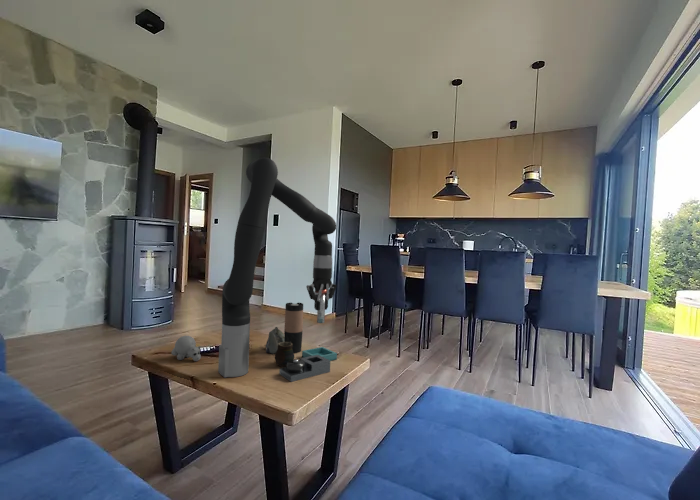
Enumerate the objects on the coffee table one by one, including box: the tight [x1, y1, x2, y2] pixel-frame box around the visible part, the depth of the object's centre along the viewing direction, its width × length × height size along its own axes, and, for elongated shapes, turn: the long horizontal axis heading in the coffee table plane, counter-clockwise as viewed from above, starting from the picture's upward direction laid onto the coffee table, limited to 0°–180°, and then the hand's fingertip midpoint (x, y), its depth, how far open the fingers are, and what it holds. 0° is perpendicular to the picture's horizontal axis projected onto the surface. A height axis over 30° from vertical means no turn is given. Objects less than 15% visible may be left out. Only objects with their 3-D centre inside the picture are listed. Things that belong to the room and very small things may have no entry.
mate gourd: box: [274, 341, 295, 368], centre depth 126 cm, size 7×8×10 cm
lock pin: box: [316, 290, 327, 324], centre depth 135 cm, size 4×4×13 cm
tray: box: [301, 346, 338, 362], centre depth 135 cm, size 10×10×2 cm
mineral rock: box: [265, 326, 284, 355], centre depth 145 cm, size 13×11×10 cm
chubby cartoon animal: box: [170, 335, 202, 362], centre depth 128 cm, size 7×12×8 cm, turn 65°
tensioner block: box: [278, 355, 331, 383], centre depth 119 cm, size 16×8×5 cm, turn 130°
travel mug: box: [283, 302, 304, 354], centre depth 143 cm, size 8×8×20 cm
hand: (321, 309), depth 135 cm, fingers closed on lock pin, 3 cm apart
